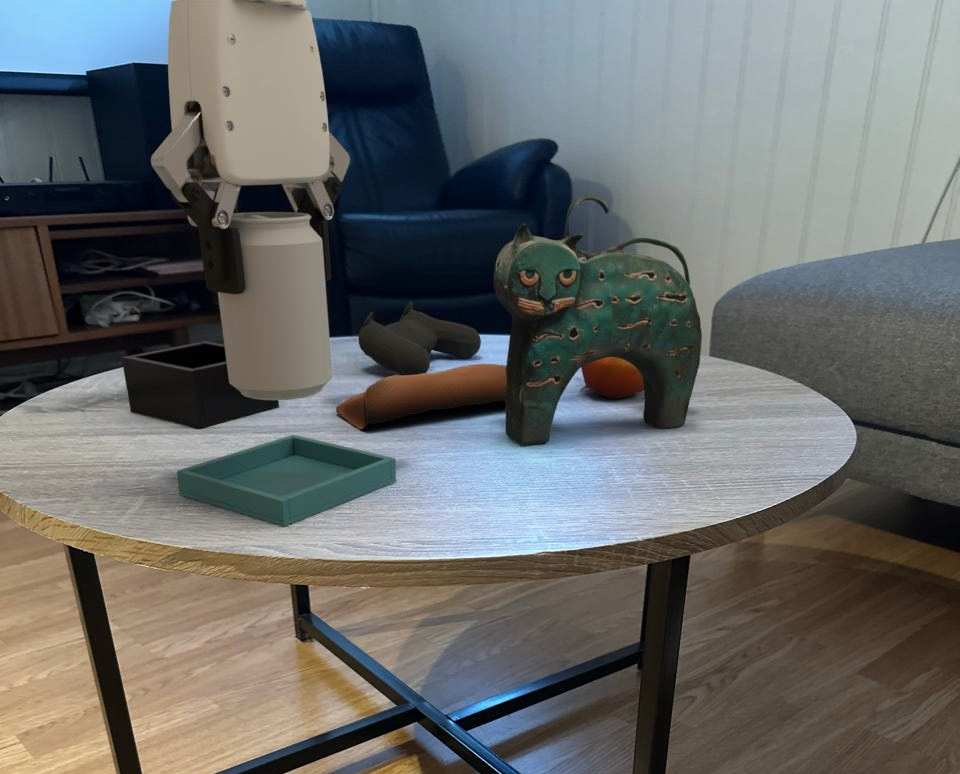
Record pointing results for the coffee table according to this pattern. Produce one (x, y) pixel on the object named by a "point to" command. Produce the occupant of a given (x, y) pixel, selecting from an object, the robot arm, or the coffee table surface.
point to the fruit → (612, 378)
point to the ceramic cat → (593, 325)
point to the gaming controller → (415, 341)
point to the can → (278, 309)
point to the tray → (286, 478)
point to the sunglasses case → (425, 393)
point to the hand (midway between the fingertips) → (271, 283)
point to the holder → (187, 386)
